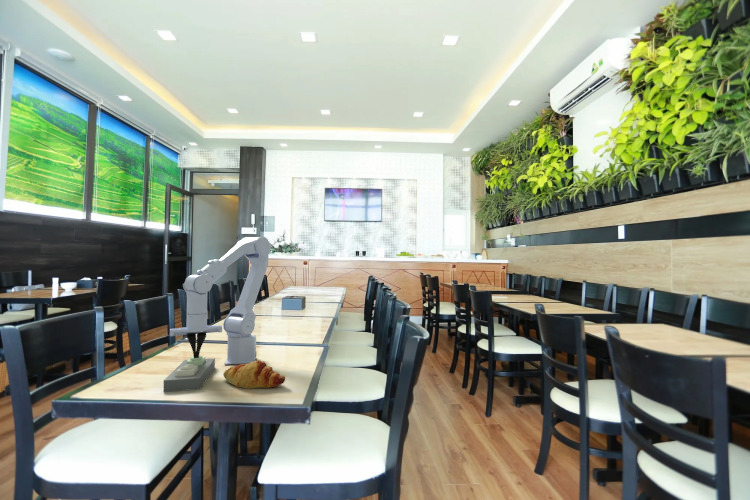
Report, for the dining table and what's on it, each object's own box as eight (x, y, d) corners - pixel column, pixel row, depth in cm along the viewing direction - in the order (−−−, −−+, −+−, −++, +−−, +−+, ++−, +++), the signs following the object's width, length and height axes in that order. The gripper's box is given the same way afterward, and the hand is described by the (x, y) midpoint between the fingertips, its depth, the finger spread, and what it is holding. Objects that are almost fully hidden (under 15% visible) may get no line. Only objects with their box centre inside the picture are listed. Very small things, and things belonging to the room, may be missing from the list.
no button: (197, 375, 106) (197, 363, 106) (193, 380, 102) (193, 367, 102) (180, 376, 105) (181, 364, 105) (176, 381, 101) (176, 368, 101)
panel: (214, 367, 119) (214, 358, 119) (199, 389, 99) (200, 378, 100) (184, 369, 117) (184, 359, 117) (163, 391, 97) (163, 380, 97)
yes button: (205, 366, 116) (205, 354, 116) (202, 370, 111) (202, 358, 112) (190, 367, 115) (190, 355, 115) (186, 371, 110) (186, 359, 111)
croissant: (216, 394, 105) (206, 373, 102) (238, 369, 114) (229, 349, 110) (279, 403, 98) (270, 380, 95) (297, 375, 107) (289, 354, 103)
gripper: (220, 310, 120) (220, 351, 120) (170, 313, 114) (169, 356, 113) (223, 313, 114) (222, 356, 114) (169, 316, 107) (168, 362, 107)
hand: (196, 357), depth 113 cm, fingers closed, pressing on yes button
